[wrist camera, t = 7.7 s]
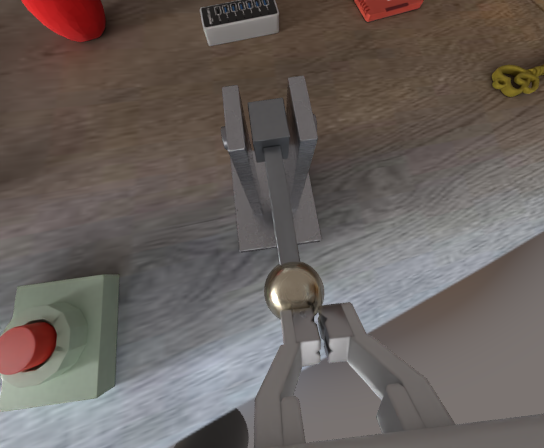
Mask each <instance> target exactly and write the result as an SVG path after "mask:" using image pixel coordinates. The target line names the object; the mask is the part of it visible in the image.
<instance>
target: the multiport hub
mask: <svg viewBox="0 0 544 448" xmlns="http://www.w3.org/2000/svg"><path fill="white" fill-rule="evenodd" d="M200 13H201V19H202V24H203V29H204V32H205V35H206V39H207V42H208V45H209V46H214V45H219V44H224V43H229V42H234V41H239V40H244V39H249V38H254V37H259V36H265V35H270V34H275V33H278V32H279V11H278V8H277V5H276V2H275V0H238V1H233V2H228V3H222V4H217V5H212V6H207V7H202V8H201V9H200Z"/></svg>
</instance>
